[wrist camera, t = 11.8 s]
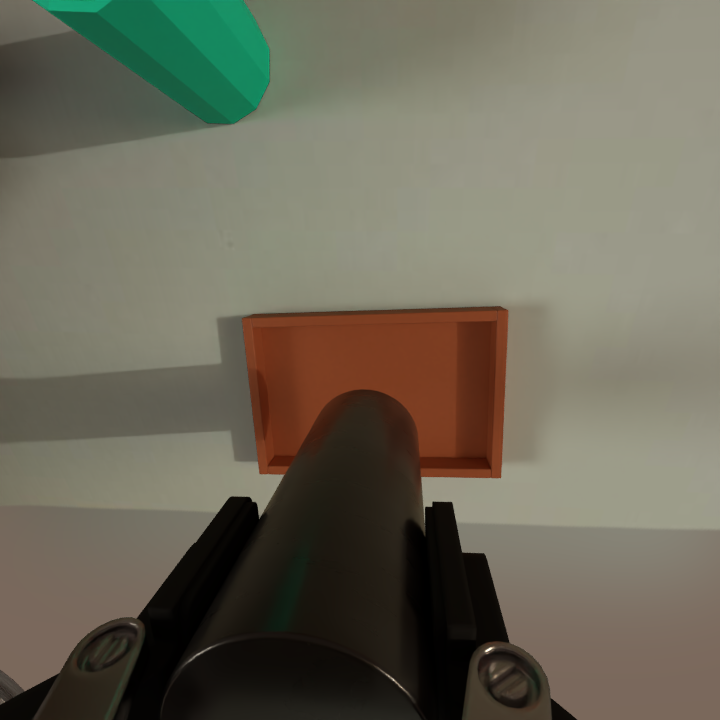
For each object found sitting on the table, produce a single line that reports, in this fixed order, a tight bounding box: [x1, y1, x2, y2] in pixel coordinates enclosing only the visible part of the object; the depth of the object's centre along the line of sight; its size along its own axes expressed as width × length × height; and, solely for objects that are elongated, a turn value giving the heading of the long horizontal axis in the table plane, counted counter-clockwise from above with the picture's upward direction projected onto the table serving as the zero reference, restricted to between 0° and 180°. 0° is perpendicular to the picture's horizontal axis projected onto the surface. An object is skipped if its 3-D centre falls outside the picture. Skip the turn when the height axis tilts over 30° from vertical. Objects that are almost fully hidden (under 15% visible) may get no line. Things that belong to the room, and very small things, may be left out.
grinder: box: [159, 389, 439, 720], centre depth 12 cm, size 5×5×12 cm
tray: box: [242, 306, 508, 478], centre depth 24 cm, size 15×10×2 cm
